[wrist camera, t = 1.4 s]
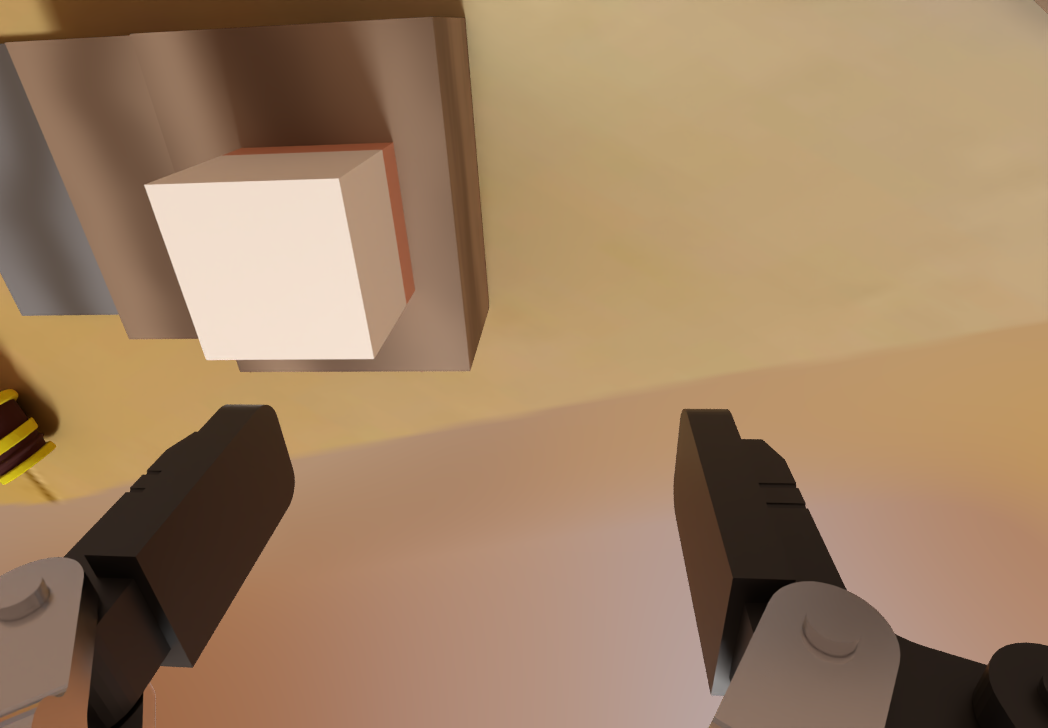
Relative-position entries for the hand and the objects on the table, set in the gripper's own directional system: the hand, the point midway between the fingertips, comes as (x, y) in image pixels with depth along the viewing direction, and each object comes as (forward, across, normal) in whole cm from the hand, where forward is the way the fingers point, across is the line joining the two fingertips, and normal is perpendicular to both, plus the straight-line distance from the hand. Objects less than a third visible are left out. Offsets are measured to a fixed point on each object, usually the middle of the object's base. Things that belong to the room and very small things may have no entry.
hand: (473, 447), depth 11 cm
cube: (+15, +8, 0) cm, 17 cm away
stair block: (+22, +17, 0) cm, 28 cm away
